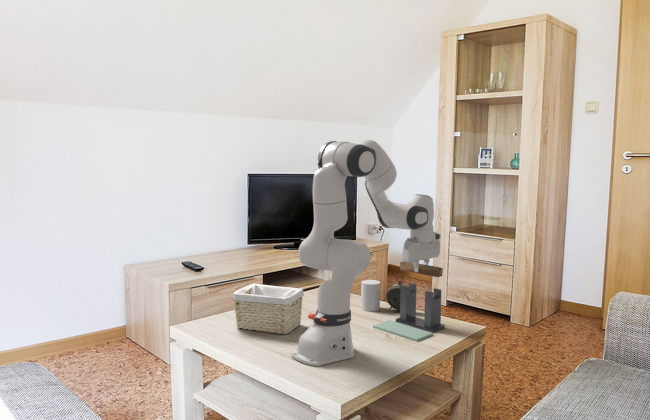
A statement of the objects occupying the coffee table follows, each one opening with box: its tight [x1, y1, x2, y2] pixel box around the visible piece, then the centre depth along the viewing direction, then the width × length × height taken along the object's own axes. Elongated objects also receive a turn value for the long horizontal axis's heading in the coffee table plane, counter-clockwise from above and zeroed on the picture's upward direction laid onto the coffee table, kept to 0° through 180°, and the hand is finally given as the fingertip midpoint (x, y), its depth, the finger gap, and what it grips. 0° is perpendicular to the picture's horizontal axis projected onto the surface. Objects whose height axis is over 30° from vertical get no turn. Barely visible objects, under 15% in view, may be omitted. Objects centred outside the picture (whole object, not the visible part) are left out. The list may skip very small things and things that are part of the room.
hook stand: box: [395, 282, 446, 334], centre depth 211 cm, size 8×18×15 cm, turn 43°
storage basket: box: [232, 283, 305, 335], centre depth 209 cm, size 24×16×15 cm
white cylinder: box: [360, 279, 381, 313], centre depth 233 cm, size 8×8×12 cm
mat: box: [372, 319, 434, 342], centre depth 204 cm, size 10×21×1 cm, turn 43°
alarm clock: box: [385, 274, 409, 314], centre depth 229 cm, size 11×5×16 cm, turn 63°
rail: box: [399, 260, 444, 278], centre depth 209 cm, size 3×18×3 cm, turn 43°
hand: (420, 270), depth 209 cm, fingers closed on rail, 3 cm apart
